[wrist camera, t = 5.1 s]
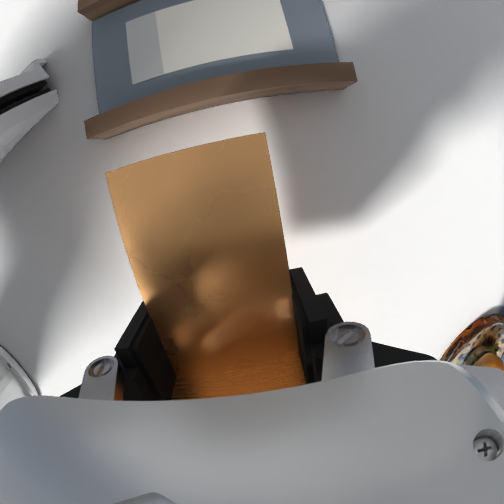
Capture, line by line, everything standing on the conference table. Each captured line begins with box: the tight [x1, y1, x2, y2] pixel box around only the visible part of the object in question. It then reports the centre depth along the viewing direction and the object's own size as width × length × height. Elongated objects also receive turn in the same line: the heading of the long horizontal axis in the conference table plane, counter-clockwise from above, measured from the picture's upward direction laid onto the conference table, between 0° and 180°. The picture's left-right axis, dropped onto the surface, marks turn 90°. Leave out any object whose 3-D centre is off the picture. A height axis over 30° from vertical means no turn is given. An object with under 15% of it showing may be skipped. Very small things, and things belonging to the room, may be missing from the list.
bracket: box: [105, 132, 306, 400], centre depth 9 cm, size 10×5×7 cm, turn 11°
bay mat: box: [92, 0, 339, 114], centre depth 14 cm, size 9×16×1 cm, turn 101°
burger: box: [440, 314, 504, 372], centre depth 20 cm, size 12×12×8 cm
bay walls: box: [78, 0, 357, 139], centre depth 13 cm, size 11×16×2 cm
